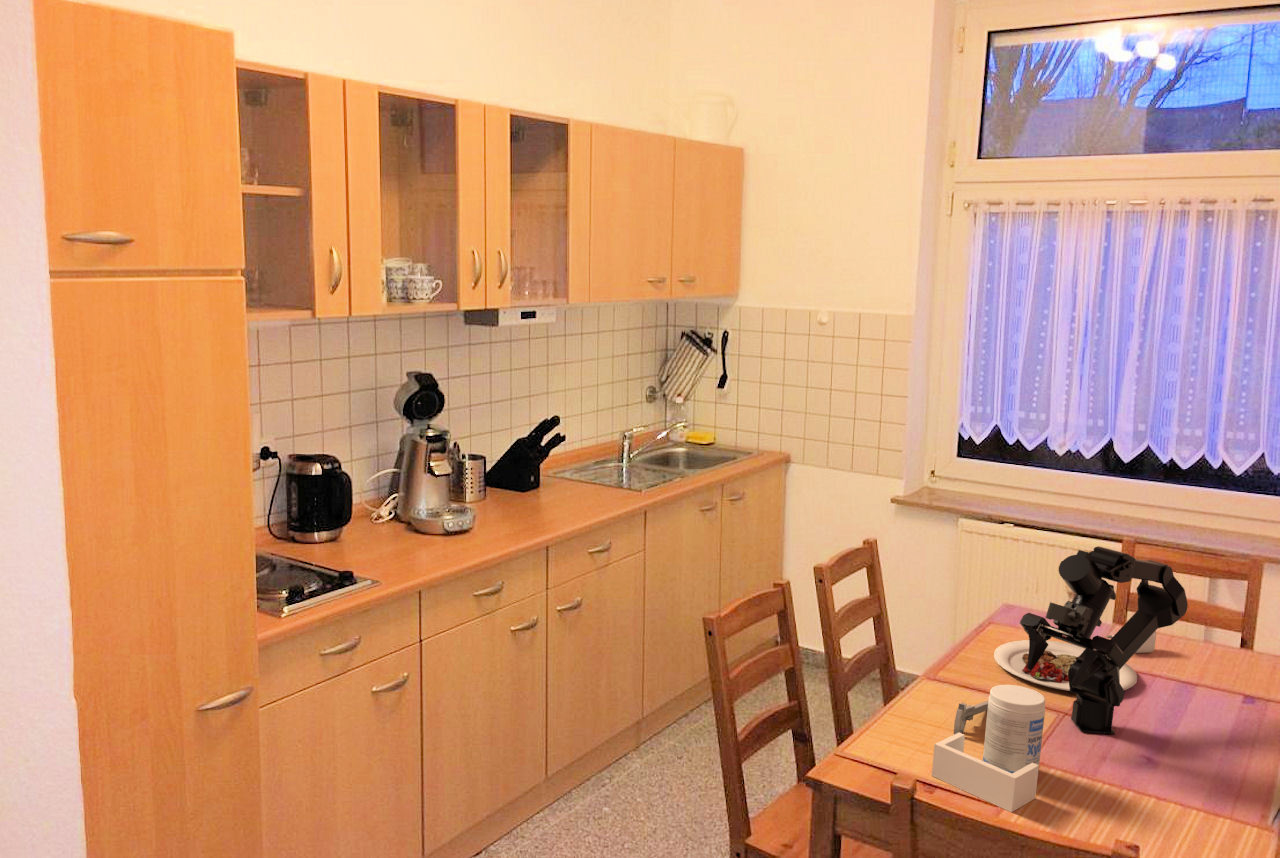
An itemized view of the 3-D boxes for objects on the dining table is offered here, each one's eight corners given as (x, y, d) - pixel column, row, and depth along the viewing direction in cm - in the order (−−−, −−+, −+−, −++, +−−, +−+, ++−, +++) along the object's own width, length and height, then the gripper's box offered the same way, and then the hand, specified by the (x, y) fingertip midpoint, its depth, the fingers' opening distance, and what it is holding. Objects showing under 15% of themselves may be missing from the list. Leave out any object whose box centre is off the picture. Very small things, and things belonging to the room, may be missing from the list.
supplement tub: (1037, 790, 184) (1046, 710, 181) (979, 778, 187) (987, 699, 185) (1038, 766, 193) (1046, 689, 190) (983, 755, 196) (991, 679, 194)
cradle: (956, 763, 192) (959, 732, 191) (1035, 798, 181) (1038, 765, 180) (931, 775, 187) (934, 743, 186) (1011, 812, 176) (1015, 778, 175)
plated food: (1145, 667, 243) (1147, 653, 243) (1124, 712, 218) (1126, 696, 218) (1011, 638, 259) (1012, 625, 259) (977, 676, 234) (979, 661, 234)
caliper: (958, 738, 203) (961, 707, 202) (953, 736, 204) (956, 705, 203) (997, 705, 219) (1000, 675, 218) (992, 703, 220) (995, 674, 219)
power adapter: (1115, 656, 249) (1118, 632, 248) (1102, 648, 254) (1105, 625, 253) (1156, 654, 252) (1159, 630, 251) (1142, 646, 256) (1145, 623, 255)
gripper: (1027, 572, 205) (989, 642, 201) (1118, 600, 190) (1080, 675, 186) (1049, 600, 211) (1013, 668, 207) (1140, 629, 196) (1103, 703, 192)
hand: (1050, 677), depth 198 cm, fingers open, 9 cm apart
